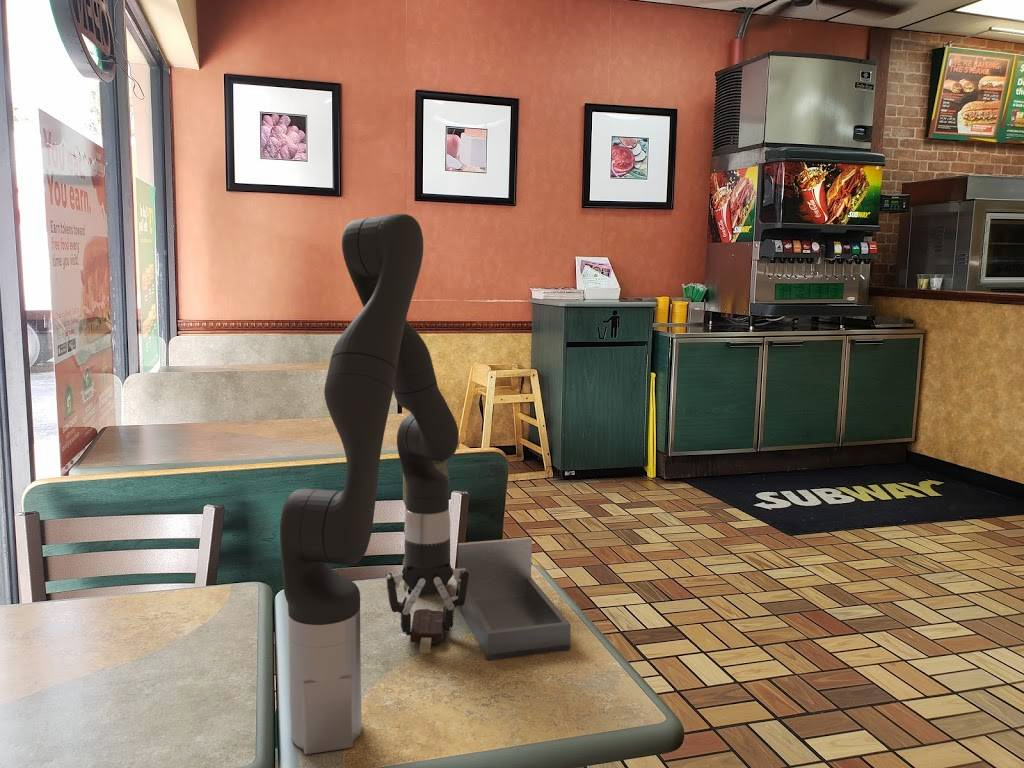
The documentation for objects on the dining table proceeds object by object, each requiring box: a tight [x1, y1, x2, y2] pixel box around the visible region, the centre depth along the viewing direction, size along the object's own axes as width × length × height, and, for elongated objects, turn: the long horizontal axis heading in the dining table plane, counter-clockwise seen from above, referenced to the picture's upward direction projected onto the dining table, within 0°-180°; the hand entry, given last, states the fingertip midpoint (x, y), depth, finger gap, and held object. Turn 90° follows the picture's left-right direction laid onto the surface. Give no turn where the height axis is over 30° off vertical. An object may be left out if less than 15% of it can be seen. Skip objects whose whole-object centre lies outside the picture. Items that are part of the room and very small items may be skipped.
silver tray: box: [456, 536, 572, 661], centre depth 141 cm, size 24×14×12 cm, turn 17°
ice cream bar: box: [409, 608, 444, 654], centre depth 135 cm, size 5×2×15 cm
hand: (427, 631), depth 135 cm, fingers closed on ice cream bar, 6 cm apart
